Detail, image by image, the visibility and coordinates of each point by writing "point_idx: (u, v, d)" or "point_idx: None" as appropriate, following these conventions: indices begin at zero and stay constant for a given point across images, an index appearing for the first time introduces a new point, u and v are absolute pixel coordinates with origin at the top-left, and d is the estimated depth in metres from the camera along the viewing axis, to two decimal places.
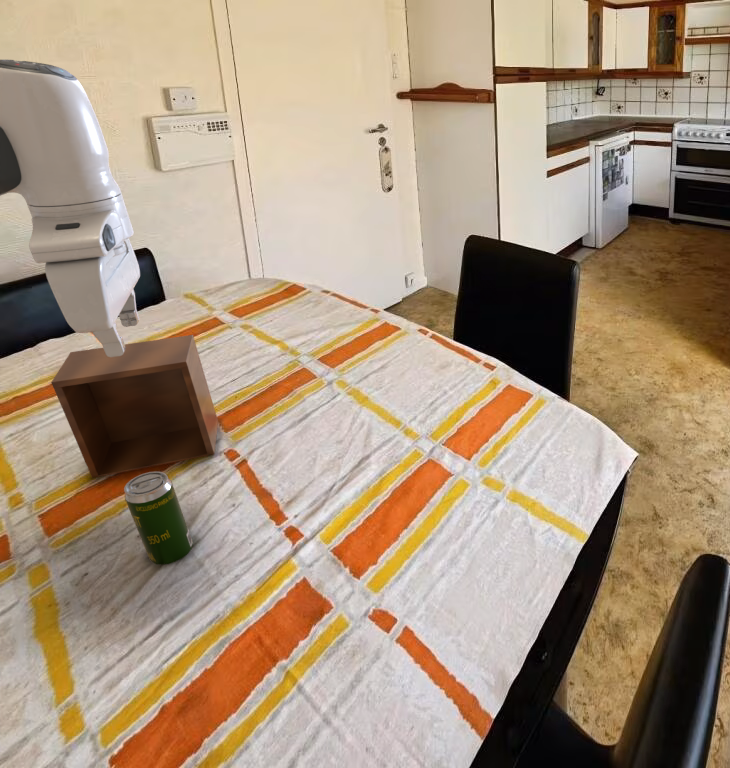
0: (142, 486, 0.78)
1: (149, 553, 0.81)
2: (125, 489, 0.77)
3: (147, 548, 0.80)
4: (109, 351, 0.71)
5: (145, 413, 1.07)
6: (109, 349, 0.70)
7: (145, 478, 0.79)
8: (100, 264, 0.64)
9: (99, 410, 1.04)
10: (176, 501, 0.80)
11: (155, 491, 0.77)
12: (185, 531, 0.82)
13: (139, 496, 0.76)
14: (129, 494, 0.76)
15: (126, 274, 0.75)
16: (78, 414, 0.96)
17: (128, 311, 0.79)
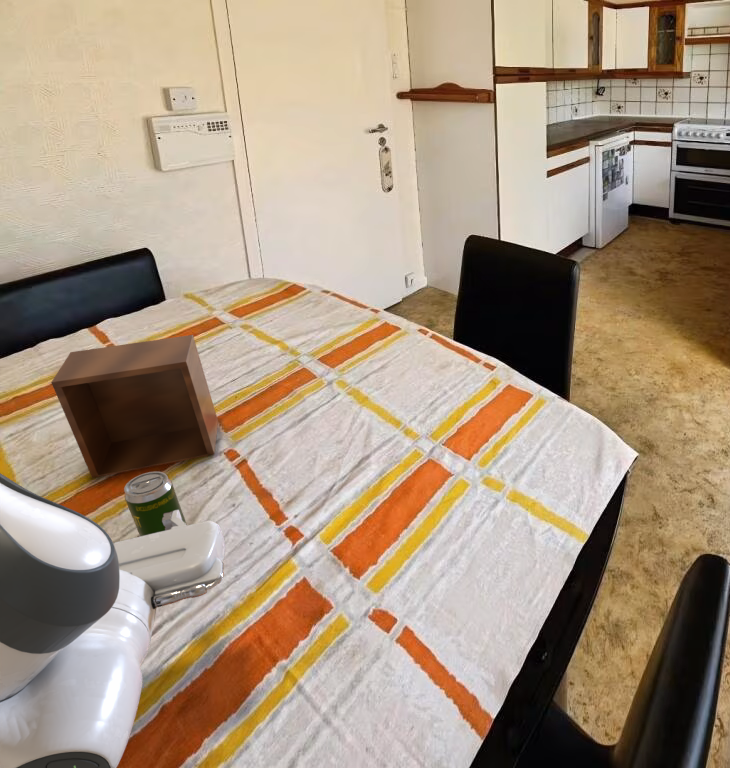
0: (142, 486, 0.78)
1: None
2: (125, 489, 0.77)
3: None
4: None
5: (145, 413, 1.07)
6: None
7: (145, 478, 0.79)
8: None
9: (99, 410, 1.04)
10: (176, 501, 0.80)
11: (155, 491, 0.77)
12: None
13: (139, 496, 0.76)
14: (129, 494, 0.76)
15: None
16: (78, 414, 0.96)
17: (169, 527, 0.67)
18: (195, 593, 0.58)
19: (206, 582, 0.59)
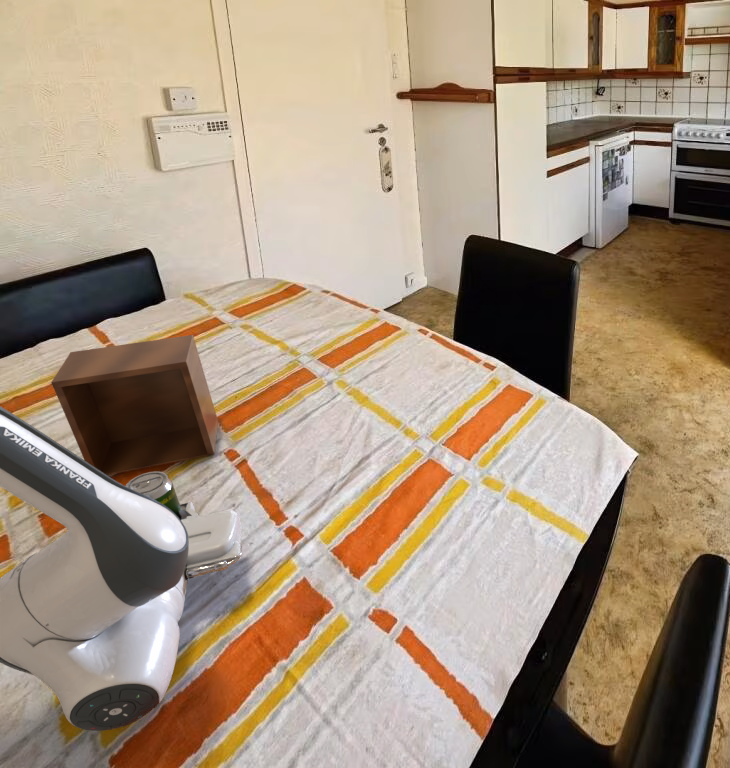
0: (142, 486, 0.78)
1: None
2: None
3: None
4: None
5: (145, 413, 1.07)
6: None
7: (145, 478, 0.79)
8: None
9: (99, 410, 1.04)
10: (176, 501, 0.80)
11: (155, 491, 0.77)
12: None
13: None
14: None
15: None
16: (78, 414, 0.96)
17: (184, 516, 0.81)
18: (219, 568, 0.72)
19: (227, 559, 0.74)
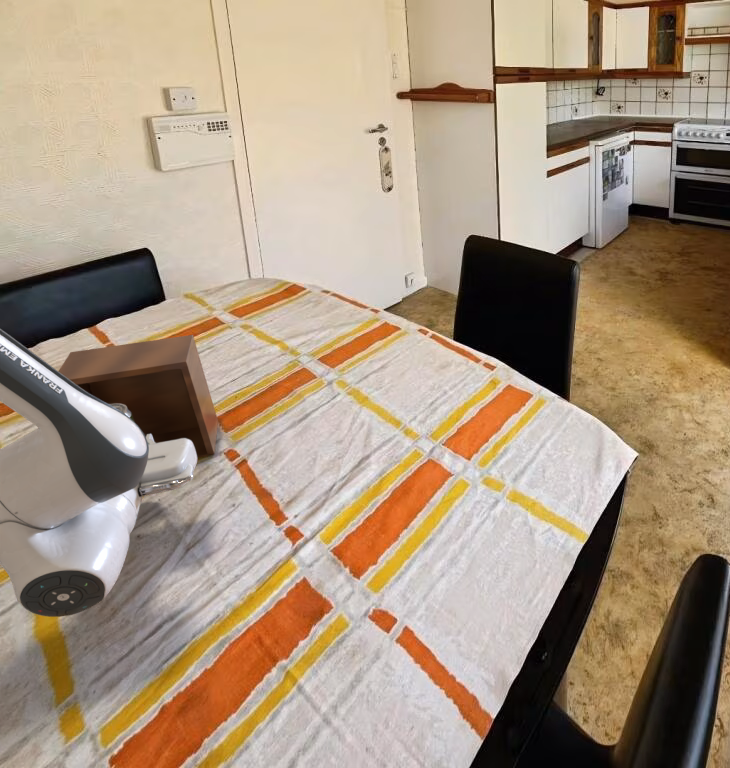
0: None
1: None
2: None
3: None
4: None
5: (145, 413, 1.07)
6: None
7: None
8: None
9: None
10: None
11: None
12: None
13: None
14: None
15: None
16: None
17: None
18: (171, 486, 0.78)
19: (179, 479, 0.79)
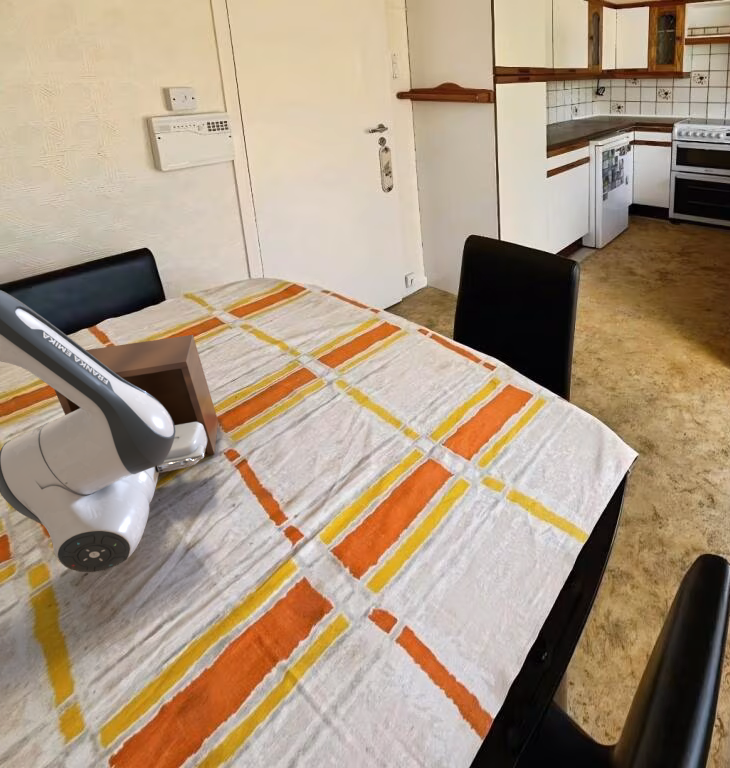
0: None
1: None
2: None
3: None
4: None
5: None
6: None
7: None
8: None
9: None
10: None
11: None
12: None
13: None
14: None
15: None
16: None
17: None
18: (184, 463, 0.87)
19: (192, 457, 0.88)
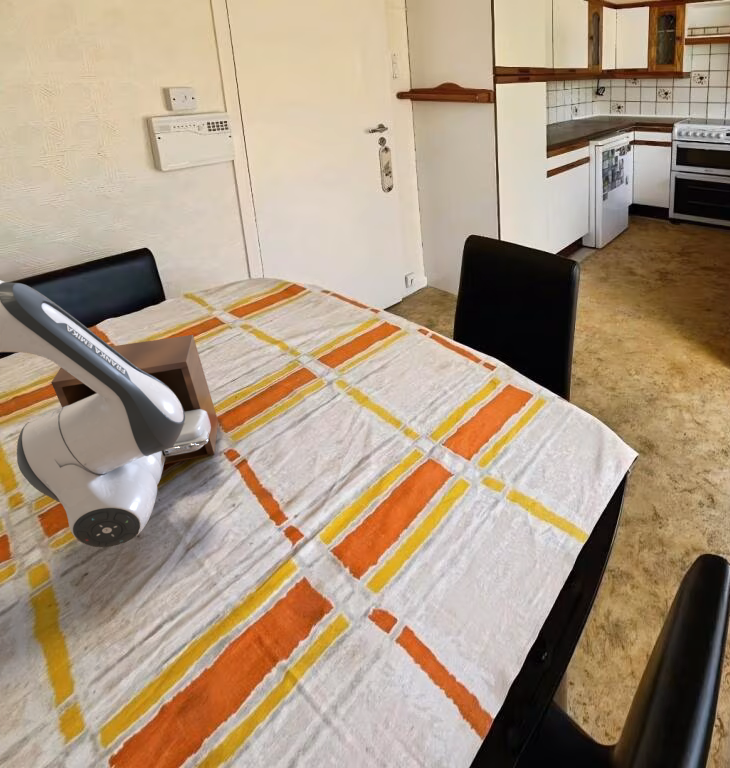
0: None
1: None
2: None
3: None
4: None
5: None
6: None
7: None
8: None
9: None
10: None
11: None
12: None
13: None
14: None
15: None
16: None
17: None
18: (190, 447, 0.92)
19: (197, 442, 0.93)
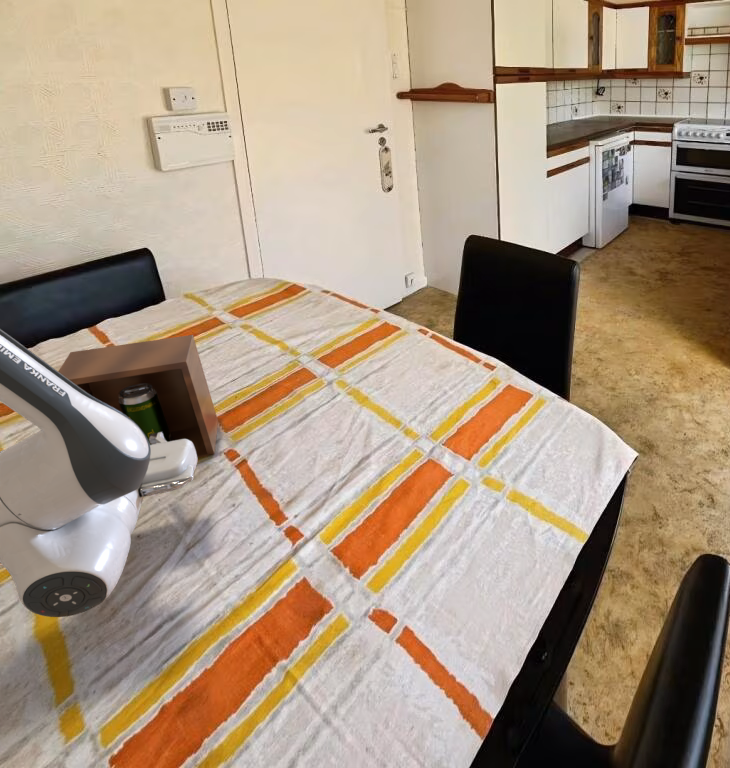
0: (132, 392, 0.98)
1: None
2: (119, 394, 0.97)
3: None
4: None
5: None
6: None
7: (135, 387, 0.99)
8: None
9: None
10: (160, 407, 1.00)
11: (142, 395, 0.97)
12: (167, 432, 1.02)
13: (130, 399, 0.96)
14: (122, 397, 0.96)
15: None
16: None
17: None
18: (171, 487, 0.78)
19: (180, 480, 0.79)
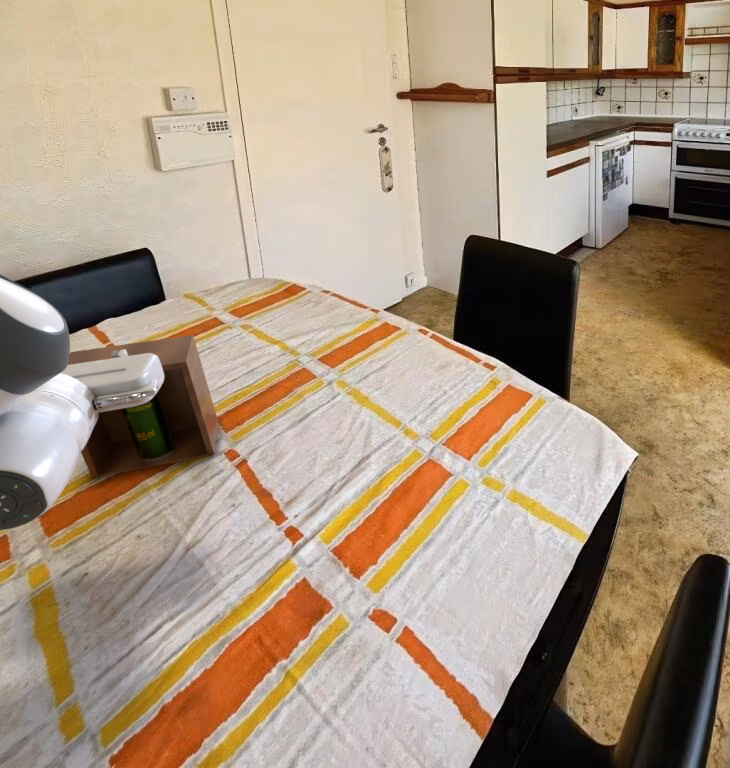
0: None
1: (138, 449, 1.01)
2: None
3: (136, 445, 1.00)
4: None
5: None
6: None
7: None
8: None
9: None
10: (160, 407, 1.00)
11: None
12: (167, 432, 1.02)
13: None
14: None
15: None
16: None
17: None
18: (131, 399, 0.68)
19: (141, 393, 0.70)
